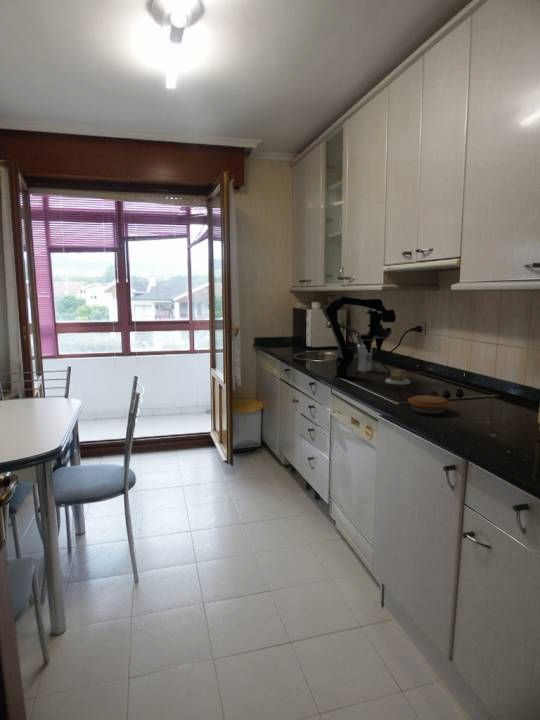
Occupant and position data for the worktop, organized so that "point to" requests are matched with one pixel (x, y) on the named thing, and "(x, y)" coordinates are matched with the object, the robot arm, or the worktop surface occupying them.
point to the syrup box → (364, 359)
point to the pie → (428, 404)
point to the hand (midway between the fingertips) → (374, 352)
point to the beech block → (397, 375)
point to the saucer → (397, 382)
